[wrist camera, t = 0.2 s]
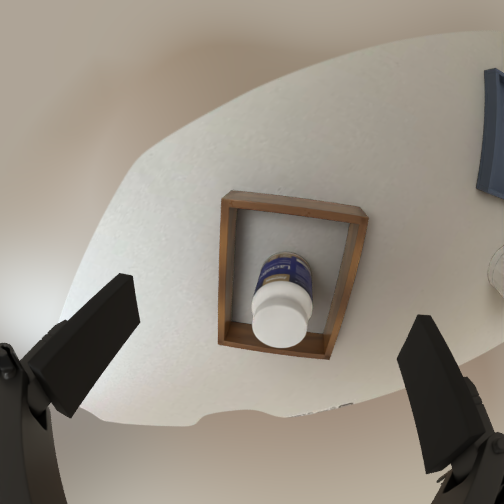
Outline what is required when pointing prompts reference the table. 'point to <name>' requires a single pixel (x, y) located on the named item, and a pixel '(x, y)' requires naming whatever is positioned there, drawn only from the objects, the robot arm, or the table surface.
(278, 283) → the pill bottle
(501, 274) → the cup
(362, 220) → the wooden frame
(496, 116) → the tray
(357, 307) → the table surface
